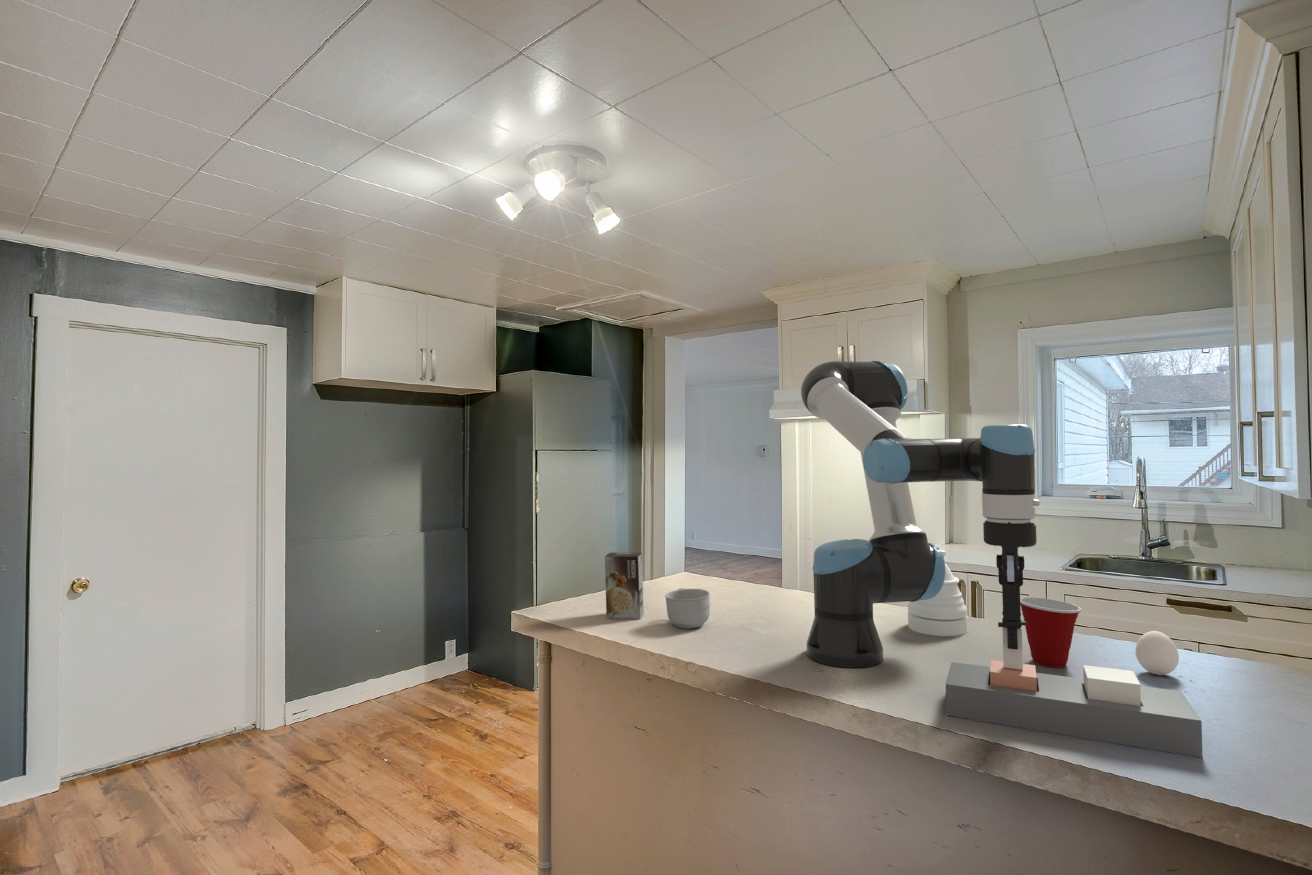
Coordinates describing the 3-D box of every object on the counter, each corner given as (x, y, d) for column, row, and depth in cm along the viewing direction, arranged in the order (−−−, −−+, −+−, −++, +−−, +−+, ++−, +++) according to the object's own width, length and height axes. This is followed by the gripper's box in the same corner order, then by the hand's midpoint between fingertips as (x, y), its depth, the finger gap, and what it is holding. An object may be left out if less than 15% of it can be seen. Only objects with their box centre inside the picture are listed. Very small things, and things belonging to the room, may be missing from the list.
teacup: (711, 631, 154) (711, 597, 154) (665, 632, 154) (665, 598, 155) (707, 616, 168) (707, 585, 168) (665, 616, 168) (665, 585, 168)
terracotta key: (990, 696, 104) (990, 671, 104) (991, 683, 109) (991, 659, 109) (1037, 703, 101) (1036, 677, 101) (1035, 689, 106) (1035, 665, 106)
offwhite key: (1088, 704, 98) (1087, 677, 98) (1083, 690, 103) (1083, 664, 103) (1141, 712, 95) (1140, 684, 95) (1133, 697, 100) (1132, 670, 100)
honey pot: (926, 618, 163) (924, 546, 163) (978, 629, 153) (976, 551, 153) (897, 627, 155) (895, 551, 155) (950, 639, 145) (948, 558, 145)
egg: (1127, 669, 124) (1126, 627, 124) (1158, 667, 125) (1157, 626, 125) (1156, 681, 118) (1154, 636, 118) (1188, 679, 118) (1187, 635, 118)
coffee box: (644, 613, 172) (643, 552, 173) (640, 619, 166) (639, 556, 166) (610, 612, 174) (609, 551, 174) (605, 618, 167) (604, 555, 168)
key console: (946, 715, 104) (945, 683, 104) (952, 690, 115) (951, 661, 115) (1202, 757, 89) (1201, 720, 89) (1182, 724, 100) (1181, 691, 100)
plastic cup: (1094, 673, 122) (1092, 609, 122) (1030, 670, 124) (1028, 607, 124) (1069, 655, 132) (1068, 596, 133) (1011, 653, 135) (1010, 594, 135)
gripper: (1037, 525, 98) (1042, 683, 97) (1034, 516, 109) (1038, 658, 109) (981, 523, 102) (985, 676, 101) (984, 515, 113) (988, 652, 113)
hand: (1013, 667), depth 105 cm, fingers closed
